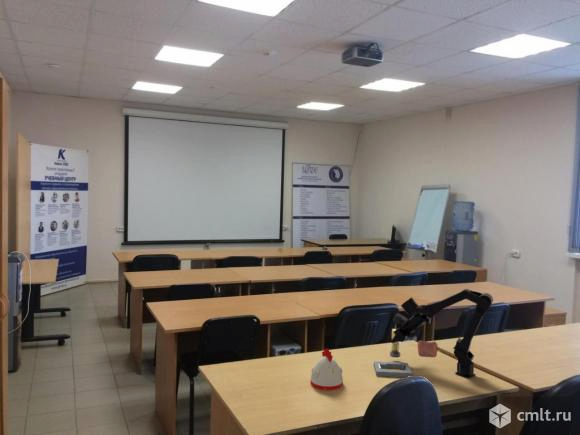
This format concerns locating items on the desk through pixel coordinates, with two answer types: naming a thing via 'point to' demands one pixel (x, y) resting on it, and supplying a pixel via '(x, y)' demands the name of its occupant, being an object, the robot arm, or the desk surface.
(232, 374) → the desk surface
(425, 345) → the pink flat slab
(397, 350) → the brass peg
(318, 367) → the kitchen timer
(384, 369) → the square frame
